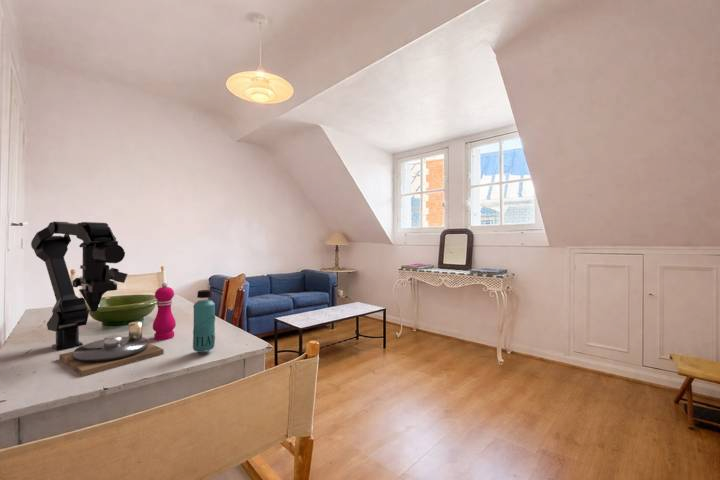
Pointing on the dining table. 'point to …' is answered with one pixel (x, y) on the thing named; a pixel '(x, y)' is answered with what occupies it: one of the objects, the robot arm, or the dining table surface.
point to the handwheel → (113, 346)
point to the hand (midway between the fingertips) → (94, 311)
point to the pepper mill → (164, 314)
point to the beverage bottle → (204, 322)
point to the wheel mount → (95, 367)
